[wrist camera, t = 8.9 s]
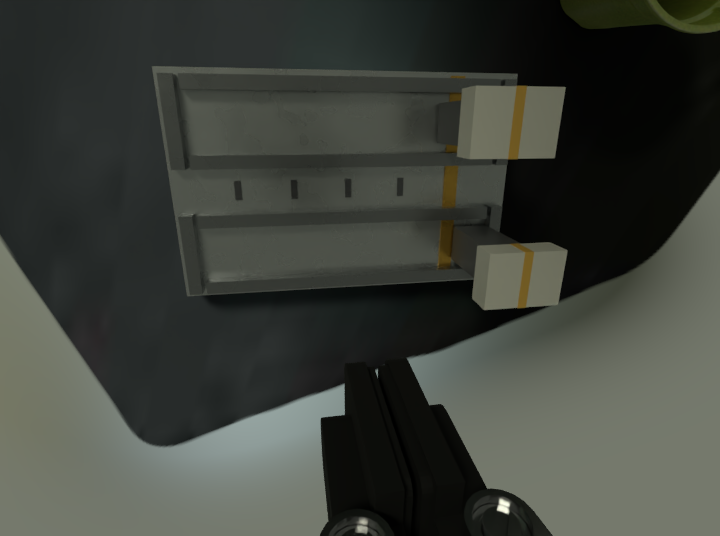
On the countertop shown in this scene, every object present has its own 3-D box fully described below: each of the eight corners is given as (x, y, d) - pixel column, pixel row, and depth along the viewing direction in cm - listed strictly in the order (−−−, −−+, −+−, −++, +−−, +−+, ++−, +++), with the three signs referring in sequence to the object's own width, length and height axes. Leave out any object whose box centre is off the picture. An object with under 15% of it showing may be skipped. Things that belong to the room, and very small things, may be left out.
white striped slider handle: (424, 95, 25) (476, 85, 18) (491, 96, 26) (566, 86, 19) (421, 149, 26) (469, 159, 19) (485, 149, 27) (554, 158, 20)
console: (162, 70, 25) (147, 64, 22) (502, 77, 28) (524, 72, 25) (193, 285, 29) (184, 301, 27) (481, 269, 33) (498, 282, 30)
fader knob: (440, 221, 28) (490, 253, 21) (500, 219, 29) (567, 250, 22) (437, 265, 29) (484, 310, 22) (495, 262, 30) (558, 305, 23)
